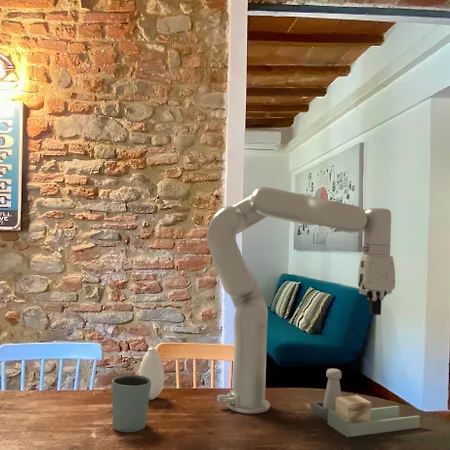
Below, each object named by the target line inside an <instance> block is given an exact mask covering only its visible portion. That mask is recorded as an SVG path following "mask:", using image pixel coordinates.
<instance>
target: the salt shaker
mask: <svg viewBox="0 0 450 450" xmlns="http://www.w3.org/2000/svg"><path fill="white" fill-rule="evenodd" d="M325 374H326V378H327V384H326V389H325V392H324V399H323V401H324V402H323V408H324V409H326V410H330V409H331V410H333V411H335V403H334V400H336V397H343V396H342V390H341V382H340V379H342V370H340V369H338V368H328V369H327V370H326V373H325Z"/></svg>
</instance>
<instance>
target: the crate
mask: <svg viewBox="0 0 450 450" xmlns="http://www.w3.org/2000/svg"><path fill="white" fill-rule="evenodd" d="M334 403H335V412H336V413H338V414H340V415H341V416H343V417H345V418H346V419H348V420H350V421H351V424H352V423H360V422H368V421H370V418H371V409H372V408H373V405H372V402H371V401H369V400H367V399H366V398H363V397H362V396H360V395H356V394H355V395H347V396H345V395H344V396H342V397H336V400H334Z"/></svg>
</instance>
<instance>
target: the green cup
mask: <svg viewBox="0 0 450 450" xmlns="http://www.w3.org/2000/svg"><path fill="white" fill-rule="evenodd" d="M111 386H112V387H111V389H112V390H111V392H112V393H111V394H112V396H111V397H112V398H111V399H112V401H111V403H112V405H111V407H112V428H113V429H114V430H116V431H118V432H122V433H133V432H137V431H141V430H143V429H145V428H146V425H147V417H148V411H149V410H148V409H149V401H150V400H149V393H150V387H151V379H150V378H148V377H144V376H139V375H138V374H137V375H136V374H134V375H133V374H125V375H119V376H115V377H114V378H112V380H111Z"/></svg>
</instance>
